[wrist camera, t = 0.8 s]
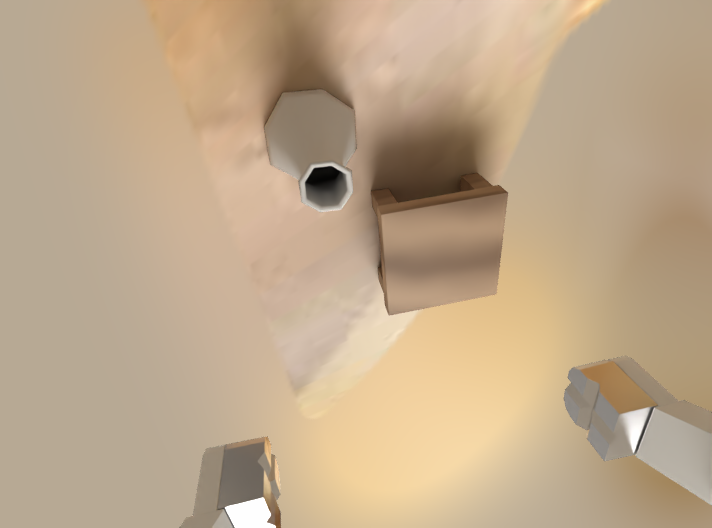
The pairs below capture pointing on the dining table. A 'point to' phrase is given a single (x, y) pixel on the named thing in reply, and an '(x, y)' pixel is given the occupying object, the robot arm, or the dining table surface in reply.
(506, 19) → the dining table surface
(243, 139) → the dining table surface
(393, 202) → the walnut stand
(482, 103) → the dining table surface
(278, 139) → the flask
